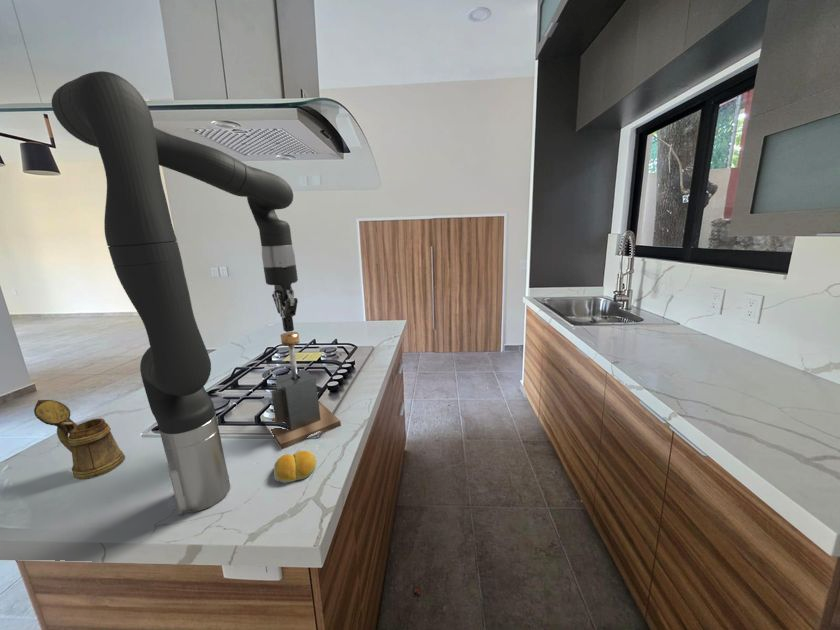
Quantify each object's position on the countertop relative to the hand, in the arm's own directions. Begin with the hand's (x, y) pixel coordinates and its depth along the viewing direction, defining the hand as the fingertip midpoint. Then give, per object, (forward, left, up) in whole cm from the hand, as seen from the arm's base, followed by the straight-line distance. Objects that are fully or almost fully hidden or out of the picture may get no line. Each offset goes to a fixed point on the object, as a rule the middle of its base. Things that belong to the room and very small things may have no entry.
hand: (288, 330), depth 89 cm
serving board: (0, 0, -27) cm, 27 cm away
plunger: (0, 0, -15) cm, 15 cm away
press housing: (-1, 0, -26) cm, 26 cm away
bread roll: (-8, -18, -28) cm, 34 cm away
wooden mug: (-45, +16, -28) cm, 55 cm away
